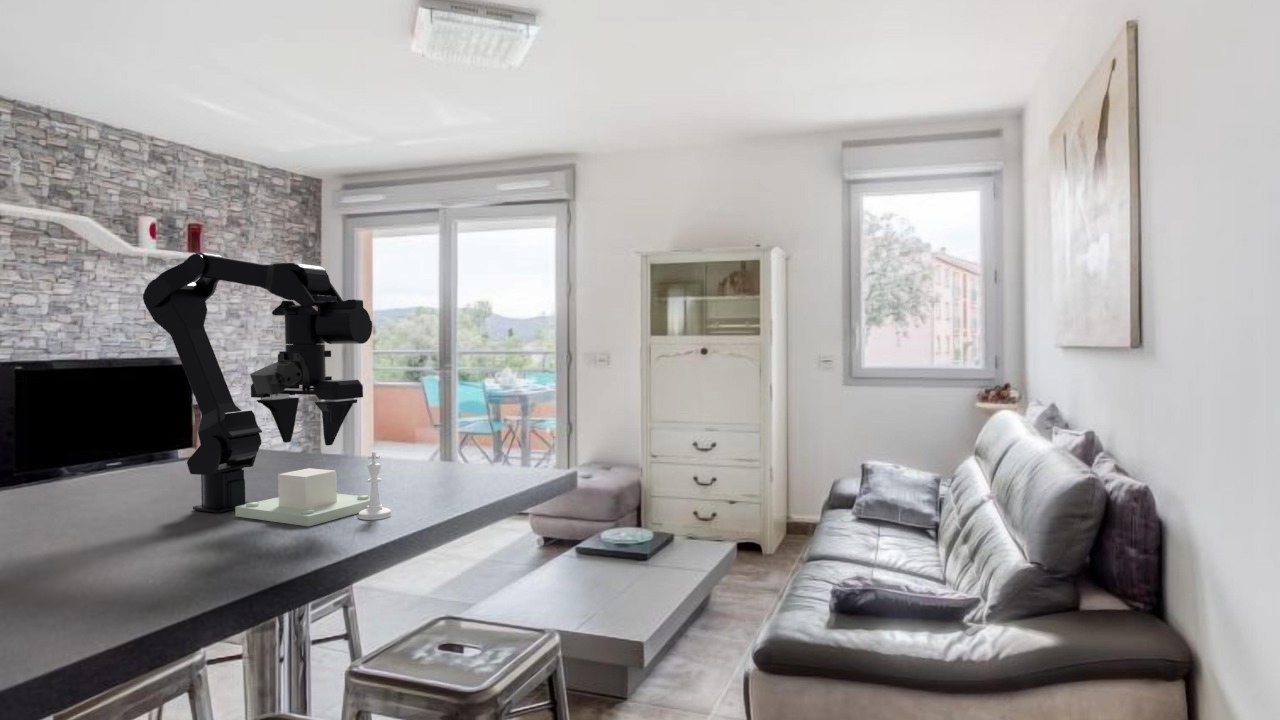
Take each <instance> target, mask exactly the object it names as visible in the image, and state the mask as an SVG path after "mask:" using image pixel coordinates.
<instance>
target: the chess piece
mask: <svg viewBox="0 0 1280 720" xmlns="http://www.w3.org/2000/svg"><path fill="white" fill-rule="evenodd" d="M380 458H381V457H380V455H377V451H372V452H371V455H369V456H367V460H371V462H370V463H368V464H367V465H366V467H367V469H368V472H369V476H370V478H368V479H367V480H366V482H367V483H370V493H369V497H370V501H369V505H368V506H367V507H368V508H367V509H364V510H362V511H360V512H359V513H358V516H357V518H358V519H360V520H363V521H375V520H383V519H387V518H388V519H389V518H390V517H392V515H393V514H392V510H391V509H390V508H387V507H383V504H382V502H381V498H380V493H379V485H378V483H379V482H382V481H383V480H382V478H380V477H379V473H380V470H381V466H382V464H381V463H379V462H377V460H380Z"/></svg>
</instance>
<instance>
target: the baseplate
mask: <svg viewBox="0 0 1280 720" xmlns="http://www.w3.org/2000/svg"><path fill="white" fill-rule="evenodd" d="M369 501H370V495H366V494H365V495H355V494H345V493H337V502H335V503H331V504H327V505H323V506H319V507H315V508H311V509H297V508H289V507H281V506H279V501H278V496H277V497H272V498H269V499H263V500H259V501H249V502H250V503H247V504H245V505H241V506H236V507H235V509H234V512H235V517H238V518H239V517H240V518H245V519H252V520H253V519H254V520H261V521H267V522H274V523H276V522H277V523H282V524H289V525H297V526H303V527H311V526H315V525H319V524H324V523H326V522H330V521H333V520H337V519H342V518H346V517H348V516H353V515H356V514H359V512H360V511H362V510H364V509H367V508H368V507H367V506H368V505H369Z"/></svg>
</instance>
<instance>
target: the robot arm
mask: <svg viewBox="0 0 1280 720" xmlns="http://www.w3.org/2000/svg"><path fill="white" fill-rule="evenodd" d="M220 281H225V282H229V283H236V284H241V285H246V286H253V287H257V288H262V289H263V290H266V291H268V293H270V294H272V295H274V296H277V297H279V298H283V299H285V300H282V301H281V303H280V304H279V305H278V306H276V307H275V308H274V309H273V310H272V312H271V314H272V316H276V317H277V316H280V317H281V316H282V317H284V344H285V346H284V349H285V351H282V350H279V351H278V353H277V362H275V363H272V364H269V365H266V366H263V367H262V368H260V369H257V370H255V371H254V372H251V373H250V374H249V375H250V379H251V381H252V384H251V385H250V398H253V399H254V398H258V399H256V402H257V403H258V404H261V405H263V406H264V407H265V408H267V409H268V410H269V411H270V413H271V415H272V417H273V419H274V422H275V425H276V427H277V429H278V432H279V434H280V437H281V439H282V440H281V441H282V442H283V443H285V444H287V443H291V442H292V437H293V435H294V430H295V425H296V418H297V413H298V407H299V402H300V397H295V395H307V396H311V395H312V396H316V398H317V399H318V400H319V401H315V402H314V404H315V405H316V407H318V409H319V411H320V412H321V418H322V429H323V440H324V445H325V446H326V447H327V446H333V444H334V442H335V440H336V438H337V435H338V434H339V431H340V429H341V428H342V425H343V423H344V421H345V419H346V417H347V415H349V414H348V413H349V412H350V411H351V408H352V407H353V405H354V404H357V403H358V398H361V399H362V398H364V385H363V384H362V383H361V381H360V380H359V379H332V377H333V376H326V375H327V373H326V369H327V368H326V358H332V350H326V344H329V345H351V344H352V345H356V344H357V345H358V344H359V345H361V344H366V343H367V342H368V341H369V339H371V338H370V337H371V335H372V333H373V321H372V320H371V316H370V314H369V312H368V310H366V308H365V307H364V301H363V300H362V299H346V300H343V299H342V297H341V296H340V294H339V292H338V291H337V289H335V287H334V285H333V284H332V283H331V279H330V276H329V274H328V273H327V269H325V268H324V267H322V266H320V265H313V264H312V265H311V264H306V263H305V264H304V263H297V262H277V263H271V264H270V263H269V264H265V263H260V262H253V261H246V260H241V259H237V258H235V259H234V258H230V257H225V256H222V255H219V254H214V253H206V252H196V253H193V254H191V255H189V257H188V258H186V259H185V260H184V261H183V262H181V263H179V264H177V265H175V266H173V267H171V268H168V269H167V270H165V271H163V272H161V273H160V274H159V275H158V276H157V277H156V278H155V279H152V280H151V281H150V282H149V283H148V284H147V286H146V288H145V289H144V291H143V293H142V299H143V303H144V305H145V308H146V310H147V311H148V313H149V315H150V316H151V318H152V320H153V322H155V323H157V324H158V326H159V327H160V328H162V329H163V330H164V331H165V332H167V333H168V334H169V336H170V337H171V339H172V342H173V345H174V347H175V350H176V352H177V355H178V357H179V358H178V359H180V363H181V365H182V367H183V371H184V373H185V376H186V377H187V381H188V383H189V386H190V388H191V391H192V393H193V396H194V398H195V401H196V403H197V406H198V408H199V412H200V414H201V418H200V422H199V427H198V432H197V436H198V440H199V443H200V445H199V446H198V447H197V449H196V450H195V451H194V452H193V453H192V455H191V456H190V457H189V458H188V459H187V461H186V465H187V468H188V471H189V474H190V475H200V482H201V483H200V484H201V486H200V488H201V491H200V492H201V504H199V505H194V506H192V510H193V511H200V512H208V513H215V514H220V513H223V512H228V511H232V510H233V511H235V507H236V506H241V505H245V504H247V503H250V502H251V501H247V500H246V479H245V468H252V467H254V464H255V461H256V457H257V455H258V452H259V450H260V447H261V445H262V439H261V437H262V436H261V433H263V430H262V429H261V428H260V426H259V424H258V422H257V420H256V415H255V413H254V412H253V410H252V409H247V410H241V409H240V407H238V406H237V405H236V404H235V402H234V400H233V397H232V395H231V392H230V389H229V387H228V385H227V381H226V379H225V377H224V375H223V371H222V369H221V366H220V364H219V361H218V359H217V356H216V354H215V351H214V348H213V347H212V343H211V341H210V339H209V336H208V334H207V331H206V329H205V324H206V323H205V322H206V317H207V314H208V308H207V303H206V302H207V301H208V300H209V299H210V298H211V297H212V296H213V295H214V294H215V293H216V290H217V286H218V283H219V282H220ZM294 301H295V302H296V303H297V304H296V303H295V302H294ZM315 307H316V308H317V310H316V308H315ZM300 386H301V387H300ZM290 396H292V397H290ZM293 396H294V397H293ZM259 398H260V399H259Z"/></svg>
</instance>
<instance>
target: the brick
mask: <svg viewBox="0 0 1280 720" xmlns="http://www.w3.org/2000/svg"><path fill="white" fill-rule="evenodd" d="M337 480H338V479H337V470H334V469H332V470H331V469H321V468H320V469H319V468H310V467H308V468H304V469H299V470H293V471H287V472H283V473H282V472H281V473H278V474H277V491H278V493H277V495H278V496H277V497H278V501H279V506H281V507H289V508H297V509H311V508H315V507H319V506H323V505H327V504H331V503H335V502H337V494H338V489H337V488H338V487H337V486H338V485H337V484H338V483H337Z"/></svg>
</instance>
